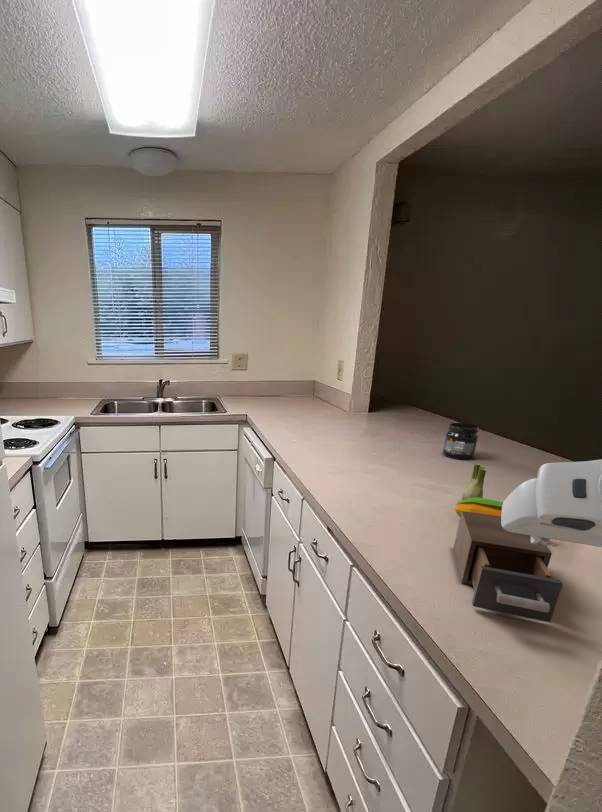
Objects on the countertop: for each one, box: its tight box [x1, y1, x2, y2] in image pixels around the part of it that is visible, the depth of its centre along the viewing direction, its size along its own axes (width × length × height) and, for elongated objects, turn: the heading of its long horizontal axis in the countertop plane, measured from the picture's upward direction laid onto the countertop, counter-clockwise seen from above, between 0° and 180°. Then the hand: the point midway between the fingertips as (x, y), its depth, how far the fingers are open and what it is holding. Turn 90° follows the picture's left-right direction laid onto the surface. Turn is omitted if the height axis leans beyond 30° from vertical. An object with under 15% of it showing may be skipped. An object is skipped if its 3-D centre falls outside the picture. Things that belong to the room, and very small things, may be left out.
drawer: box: [469, 545, 564, 623], centre depth 80 cm, size 18×12×8 cm, turn 157°
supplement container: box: [442, 422, 479, 460], centre depth 165 cm, size 10×10×12 cm
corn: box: [454, 497, 504, 518], centre depth 108 cm, size 7×8×20 cm
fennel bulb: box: [461, 462, 487, 501], centre depth 122 cm, size 6×5×12 cm
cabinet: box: [452, 511, 553, 586], centre depth 90 cm, size 15×13×10 cm
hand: (583, 546), depth 54 cm, fingers open, 8 cm apart
